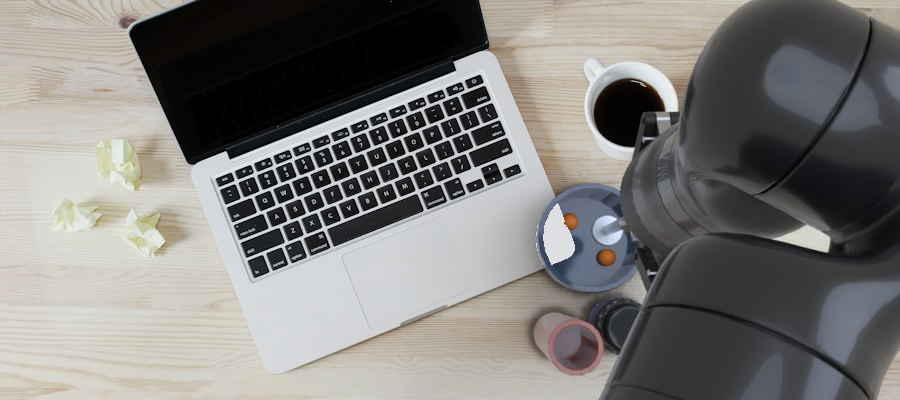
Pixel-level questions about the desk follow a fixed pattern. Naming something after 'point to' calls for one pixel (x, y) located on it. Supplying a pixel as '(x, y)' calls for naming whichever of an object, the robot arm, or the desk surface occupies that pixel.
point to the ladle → (607, 230)
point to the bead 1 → (570, 221)
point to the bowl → (589, 241)
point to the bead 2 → (607, 257)
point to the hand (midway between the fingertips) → (636, 217)
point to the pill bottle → (613, 321)
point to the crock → (569, 343)
